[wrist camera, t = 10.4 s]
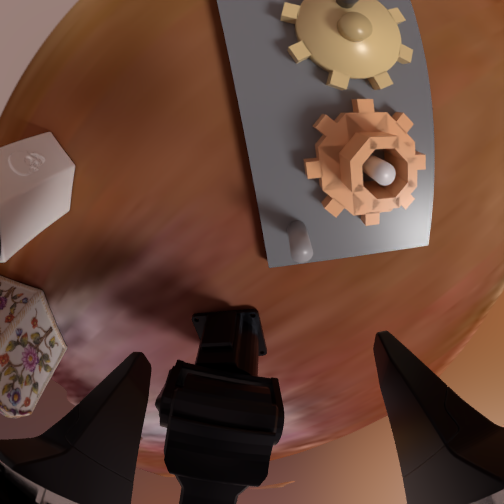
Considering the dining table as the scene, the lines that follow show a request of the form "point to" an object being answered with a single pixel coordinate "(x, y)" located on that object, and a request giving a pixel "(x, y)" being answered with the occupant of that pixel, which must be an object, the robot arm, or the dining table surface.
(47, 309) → the decorative jar
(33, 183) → the jar
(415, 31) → the gear board
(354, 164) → the loose gear
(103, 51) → the dining table surface
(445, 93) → the dining table surface
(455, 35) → the dining table surface
